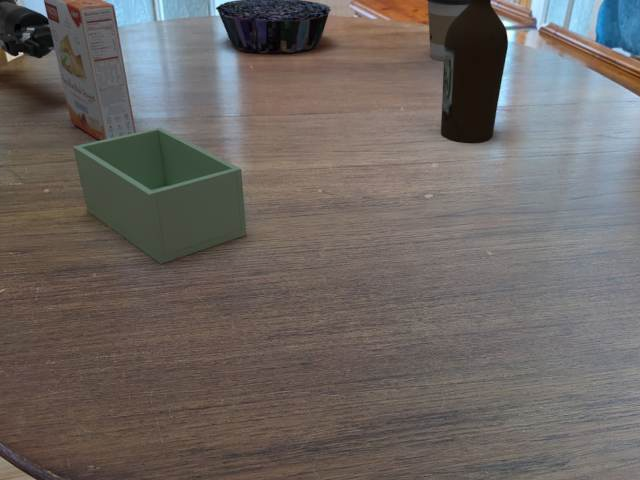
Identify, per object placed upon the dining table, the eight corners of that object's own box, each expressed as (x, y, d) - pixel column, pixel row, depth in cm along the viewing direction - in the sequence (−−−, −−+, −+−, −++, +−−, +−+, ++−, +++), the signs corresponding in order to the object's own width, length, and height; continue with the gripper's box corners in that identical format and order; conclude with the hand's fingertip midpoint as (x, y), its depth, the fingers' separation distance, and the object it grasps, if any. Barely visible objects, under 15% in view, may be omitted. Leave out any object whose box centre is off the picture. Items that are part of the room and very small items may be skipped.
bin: (160, 264, 88) (149, 194, 83) (87, 211, 99) (72, 146, 94) (246, 235, 95) (241, 168, 90) (169, 188, 106) (160, 127, 101)
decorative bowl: (222, 40, 187) (215, -3, 181) (327, 31, 191) (324, -11, 185) (222, 65, 167) (215, 19, 161) (340, 55, 171) (337, 9, 165)
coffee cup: (421, 50, 179) (426, -18, 170) (467, 52, 179) (474, -16, 170) (422, 62, 170) (426, -9, 161) (470, 64, 170) (477, -7, 161)
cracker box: (69, 124, 127) (39, -10, 114) (102, 118, 130) (77, -13, 117) (104, 147, 118) (76, 6, 106) (138, 140, 122) (115, 2, 109)
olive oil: (492, 125, 135) (511, -27, 120) (499, 145, 126) (521, -16, 111) (435, 123, 135) (447, -29, 120) (439, 143, 126) (452, -18, 111)
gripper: (68, 47, 138) (108, 65, 128) (-10, 57, 130) (27, 78, 120) (58, 3, 133) (99, 19, 124) (-22, 11, 125) (15, 29, 116)
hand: (64, 48), depth 122 cm, fingers open, 8 cm apart
